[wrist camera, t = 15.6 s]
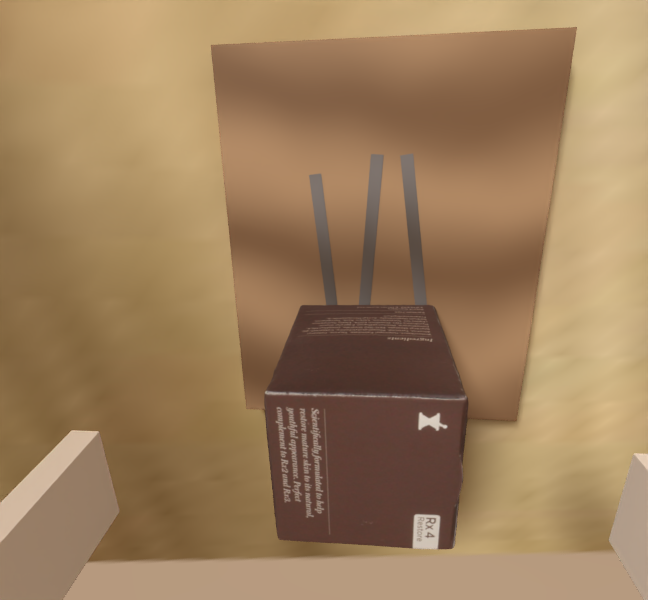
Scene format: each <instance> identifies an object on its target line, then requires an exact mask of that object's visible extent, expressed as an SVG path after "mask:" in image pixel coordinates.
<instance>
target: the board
mask: <svg viewBox="0 0 648 600" xmlns="http://www.w3.org/2000/svg"><path fill="white" fill-rule="evenodd" d="M576 30H577V27H573V28H552V29H532V30H511V31H491V32H470V33H450V34H429V35H408V36H388V37H367V38H347V39H326V40H306V41H285V42H264V43H244V44H223V45H211V51H212V62H213V72H214V82H215V92H216V103H217V113H218V123H219V133H220V143H221V154H222V164H223V174H224V184H225V195H226V205H227V215H228V225H229V235H230V246H231V256H232V266H233V276H234V287H235V297H236V307H237V317H238V328H239V338H240V348H241V358H242V368H243V379H244V389H245V399H246V409H262V410H265V406H264V395H265V391H266V389H267V387H268V385H269V384H270V382H271V380H272V377H273V373H274V370H275V368H276V366H277V363H278V361H279V359H280V356H281V354H282V351H283V349H284V346H285V343H286V341H287V338H288V336H289V334H290V331H291V328H292V326H293V324H294V321H295V319H296V316H297V314H298V311H299V308H300V306H301V305H432V306H434V307H435V309H436V311H437V314H438V318H439V320H440V323H441V326H442V328H443V331H444V334H445V336H446V339H447V341H448V345H449V347H450V350H451V353H452V356H453V358H454V361H455V364H456V367H457V370H458V372H459V375H460V379H461V381H462V385H463V388H464V391H465V394H466V396H467V397H468V403H469V405H468V416H467V418H468V419H490V420H513V421H517V414H518V408H519V401H520V395H521V388H522V382H523V375H524V369H525V362H526V355H527V349H528V342H529V336H530V329H531V323H532V316H533V310H534V303H535V297H536V290H537V284H538V277H539V271H540V264H541V258H542V251H543V245H544V238H545V232H546V225H547V219H548V212H549V206H550V199H551V193H552V186H553V180H554V173H555V167H556V160H557V154H558V147H559V141H560V134H561V128H562V121H563V115H564V108H565V102H566V95H567V89H568V82H569V76H570V69H571V63H572V56H573V50H574V43H575V37H576Z"/></svg>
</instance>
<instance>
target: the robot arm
mask: <svg viewBox="0 0 648 600" xmlns="http://www.w3.org/2000/svg"><path fill="white" fill-rule="evenodd" d="M119 512H120V511H119V507H118V503H117V499H116V495H115V491H114V487H113V483H112V479H111V475H110V471H109V467H108V464H107V460H106V456H105V452H104V448H103V444H102V440H101V436H100V432H99V431H78V430H71V431H70V432H69V434H68V435H67V436H66V437H65V438H64V439H63V440H62V441H61V442H60V443H59V444H58V445H57V446H56V447H55V448H54V449H53V450H52V451H51V452H50V453H49V454H48V455H47V456H46V457H45V458H44V459H43V460H42V461H41V462H40V463H39V464H38V465H37V466H36V467H35V468H34V469H33V470H32V471H31V472H30V473H29V474H28V475H27V476H26V477H25V478H24V479H23V480H22V481H21V482H20V483H19V484H18V485H17V486H16V487H15V488H14V489H13V490H12V491H11V492H10V493H9V494H8V495H7V496H6V497H5V499H4V500H3V501H2V502H1V503H0V600H63V598H64V597H65V595H66V593H67V592H68V590H69V589H70V587H71V586H72V584H73V583H74V581H75V580H76V578H77V576H78V575H79V573H80V572H81V570H82V569H83V567H84V566H85V564H86V563H87V561H88V560H89V558H90V556H91V555H92V553H93V552H94V550H95V549H96V547H97V546H98V544H99V543H100V541H101V539H102V538H103V536H104V535H105V533H106V532H107V530H108V529H109V527H110V526H111V524H112V523H113V521H114V519H115V518H116V516H117V515H118V513H119ZM609 542H610V544H611V545H612V547H613V549H614V550H615V552H616V554H617V555H618V557H619V559H620V561H621V562H622V564H623V566H624V567H625V569H626V571H627V572H628V574H629V575H630V578H631V579H632V581H633V583H634V584H635V586H636V588H637V589H638V591H639V593H640V595H641V596H642V598H643V600H648V454H635V453H634V454H633V457H632V461H631V464H630V468H629V471H628V475H627V478H626V482H625V485H624V489H623V492H622V496H621V499H620V503H619V506H618V509H617V513H616V516H615V520H614V523H613V527H612V530H611V534H610V537H609Z"/></svg>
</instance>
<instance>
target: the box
mask: <svg viewBox="0 0 648 600" xmlns="http://www.w3.org/2000/svg"><path fill="white" fill-rule="evenodd" d="M468 405H469V403H468V397H467V396H466V394H465V391H464V388H463V385H462V381H461V379H460V375H459V372H458V370H457V367H456V364H455V361H454V358H453V356H452V353H451V350H450V347H449V345H448V341H447V339H446V336H445V334H444V331H443V328H442V326H441V323H440V320H439V318H438V314H437V311H436V309H435V307H434V306H432V305H301V306H300V308H299V311H298V314H297V316H296V319H295V321H294V324H293V326H292V328H291V331H290V334H289V336H288V338H287V341H286V343H285V346H284V349H283V351H282V354H281V356H280V359H279V361H278V363H277V366H276V368H275V370H274V373H273V377H272V380H271V382H270V384H269V385H268V387H267V389H266V391H265V395H264V406H265V416H266V428H267V440H268V448H269V461H270V469H271V480H272V490H273V498H274V510H275V517H276V528H277V535H278V538H279V539H280V540H291V541H304V542H322V543H342V544H358V545H374V546H387V547H401V548H415V549H452V548H454V546H455V536H456V527H457V516H458V504H459V494H460V491H461V487H462V482H463V468H462V462H463V452H464V443H465V435H466V423H467V416H468Z"/></svg>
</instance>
